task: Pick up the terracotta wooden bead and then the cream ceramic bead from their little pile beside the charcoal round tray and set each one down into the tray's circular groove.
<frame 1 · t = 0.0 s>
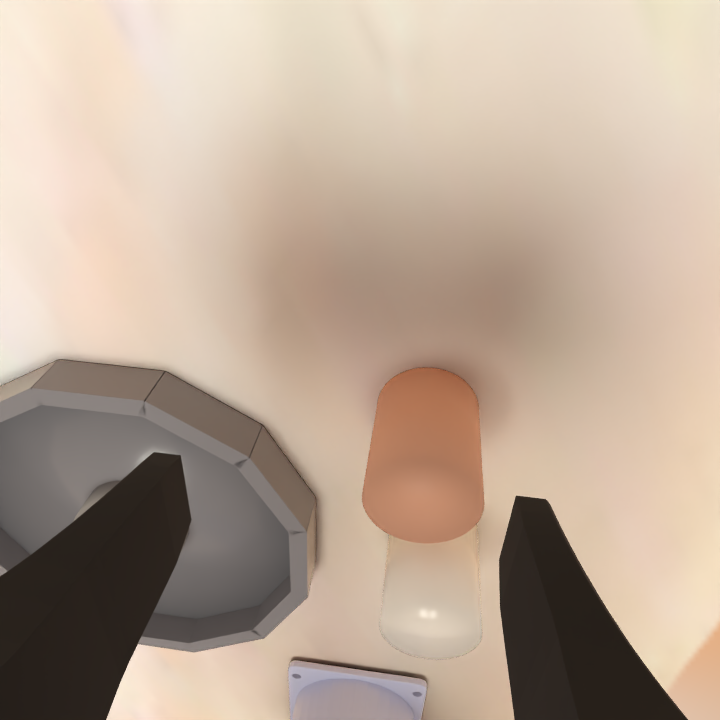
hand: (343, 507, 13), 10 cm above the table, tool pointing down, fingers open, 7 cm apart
bead cream: (433, 530, 28), on the table
bead terracotta: (427, 409, 24), on the table
groove tray: (143, 509, 30), on the table
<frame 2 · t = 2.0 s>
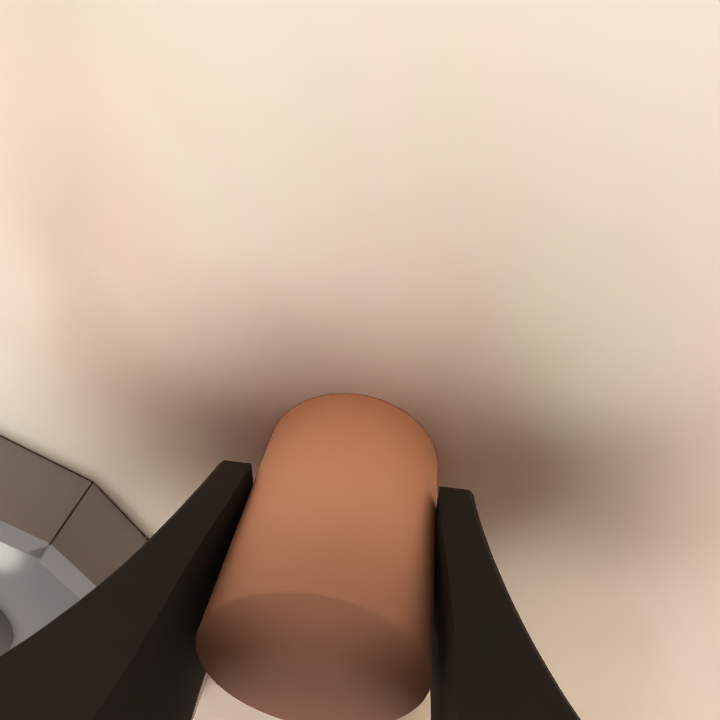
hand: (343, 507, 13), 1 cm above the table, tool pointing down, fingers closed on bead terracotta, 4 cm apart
bead cream: (377, 638, 18), on the table
bead terracotta: (352, 462, 14), on the table, touching gripper
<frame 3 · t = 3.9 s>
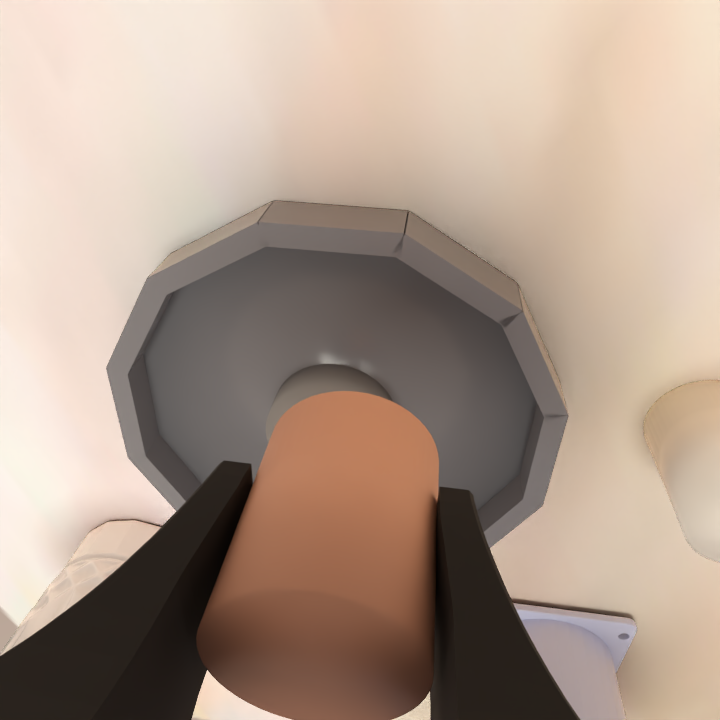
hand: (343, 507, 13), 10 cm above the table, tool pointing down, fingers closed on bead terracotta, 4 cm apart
bead cream: (699, 422, 23), on the table
bead terracotta: (353, 459, 14), point 9 cm above the table, touching gripper
white cup: (148, 558, 33), on the table
groove tray: (337, 406, 25), on the table
when the fingers open (3 cm above the table, at t = 5.9 s): bead terracotta drops 1 cm, resting on groove tray.
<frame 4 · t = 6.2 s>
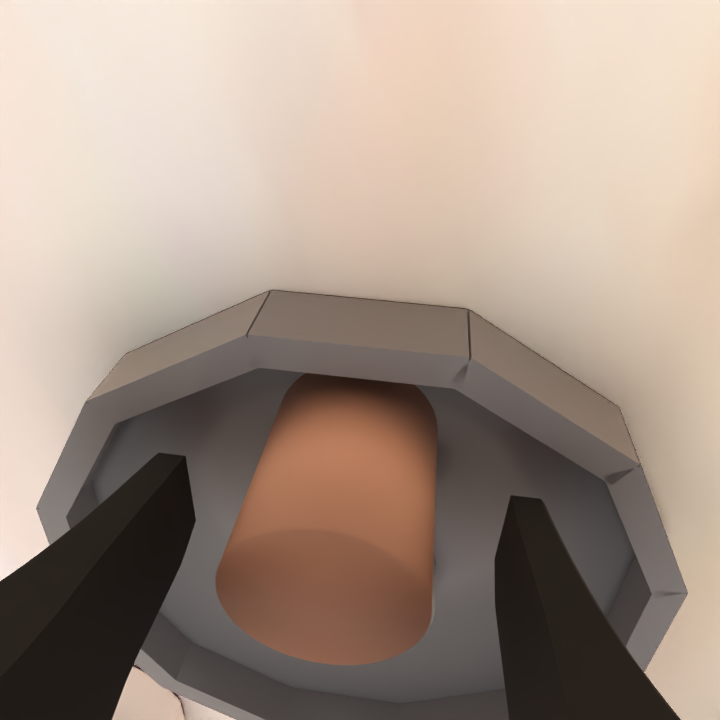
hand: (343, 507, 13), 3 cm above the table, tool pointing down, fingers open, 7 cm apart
bead terracotta: (357, 427, 15), point 1 cm above the table, touching groove tray
white cup: (111, 691, 26), on the table
groove tray: (354, 544, 19), on the table
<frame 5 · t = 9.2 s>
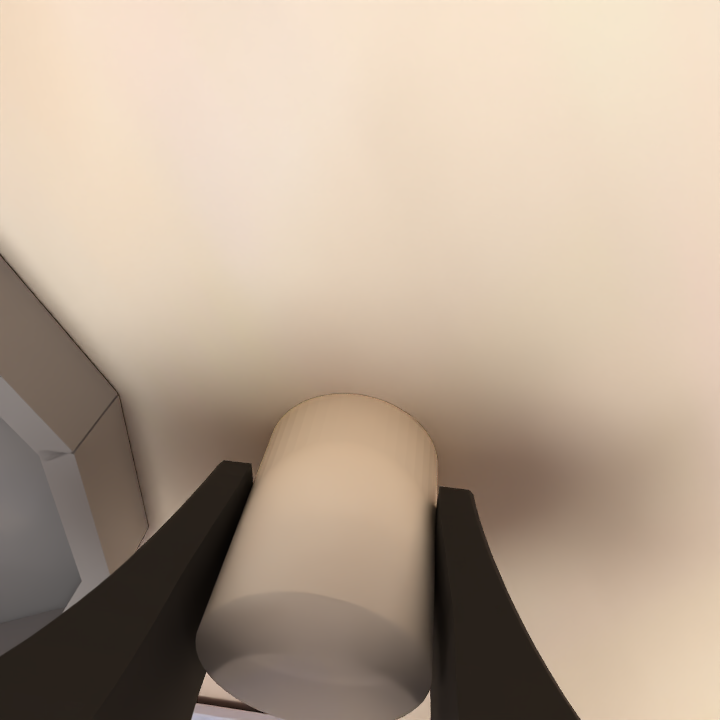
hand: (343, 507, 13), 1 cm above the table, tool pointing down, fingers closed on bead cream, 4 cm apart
bead cream: (352, 461, 14), on the table, touching gripper
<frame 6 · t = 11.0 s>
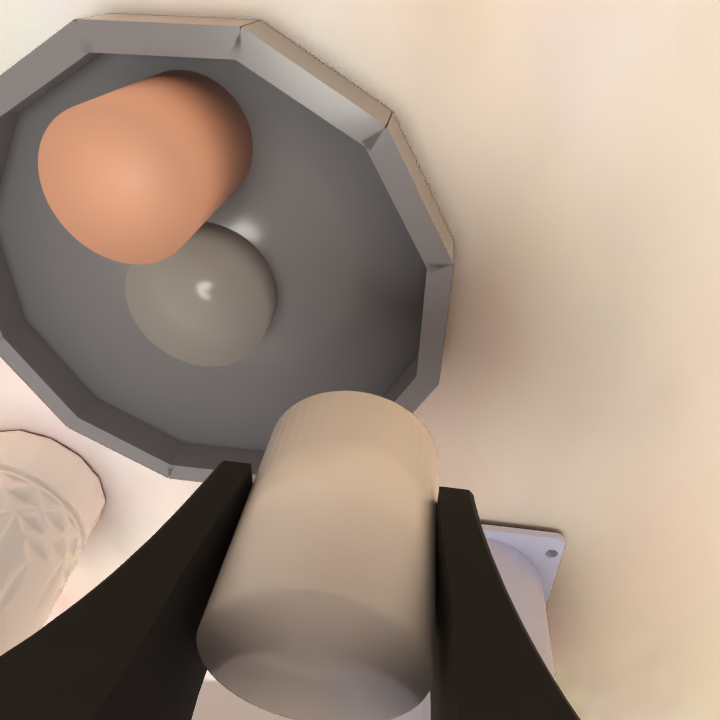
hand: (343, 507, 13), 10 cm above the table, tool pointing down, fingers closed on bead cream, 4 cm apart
bead cream: (353, 459, 14), point 9 cm above the table, touching gripper
bead terracotta: (190, 139, 19), point 1 cm above the table, touching groove tray
white cup: (42, 478, 30), on the table
groove tray: (215, 280, 22), on the table
when the fingers open (3 cm above the table, at t = 12.9 s): bead cream drops 1 cm, resting on groove tray.
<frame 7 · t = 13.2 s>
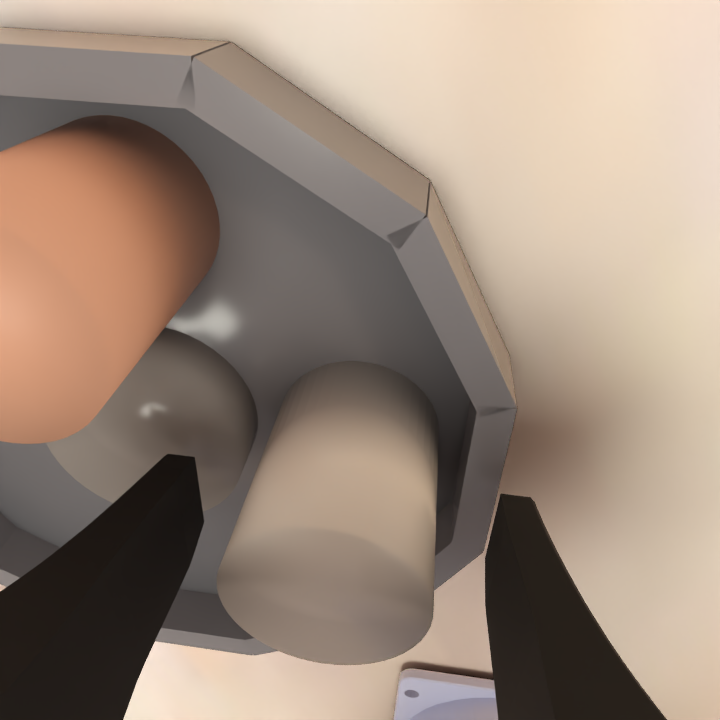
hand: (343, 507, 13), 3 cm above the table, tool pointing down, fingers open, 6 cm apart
bead cream: (358, 427, 15), point 1 cm above the table, touching groove tray
bead terracotta: (127, 215, 13), point 1 cm above the table, touching groove tray
groove tray: (172, 394, 16), on the table
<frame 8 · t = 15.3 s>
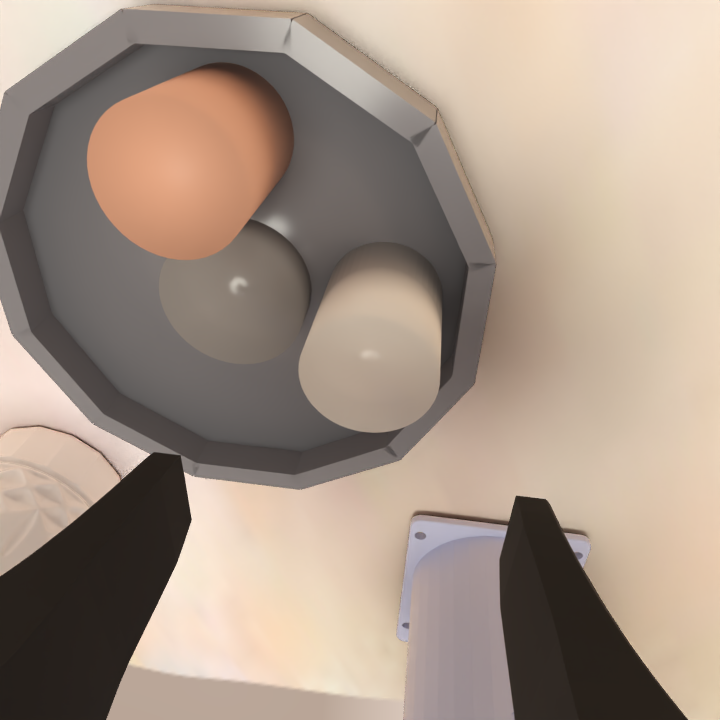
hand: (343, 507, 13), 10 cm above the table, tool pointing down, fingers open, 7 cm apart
bead cream: (384, 295, 21), point 1 cm above the table, touching groove tray
bead terracotta: (230, 133, 19), point 1 cm above the table, touching groove tray
white cup: (61, 474, 30), on the table
groove tray: (247, 276, 22), on the table
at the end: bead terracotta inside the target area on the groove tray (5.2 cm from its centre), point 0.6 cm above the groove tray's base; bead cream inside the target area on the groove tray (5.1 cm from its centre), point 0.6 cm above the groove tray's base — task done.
